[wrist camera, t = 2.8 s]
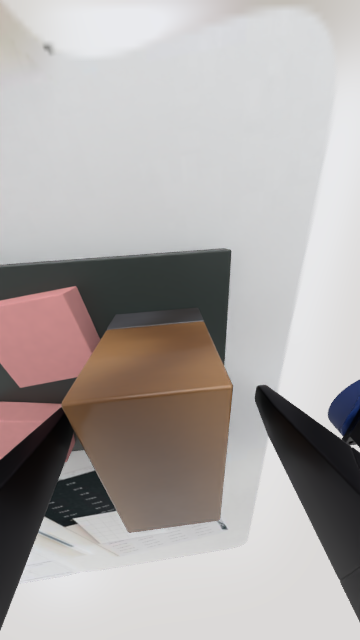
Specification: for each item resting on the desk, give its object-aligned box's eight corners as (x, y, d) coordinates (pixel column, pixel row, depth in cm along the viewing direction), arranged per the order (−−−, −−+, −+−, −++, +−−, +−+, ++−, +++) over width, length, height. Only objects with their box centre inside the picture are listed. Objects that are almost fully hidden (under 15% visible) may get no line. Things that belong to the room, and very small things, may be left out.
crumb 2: (69, 403, 11) (58, 422, 10) (75, 442, 12) (67, 462, 11) (-5, 400, 10) (-25, 420, 9) (12, 441, 12) (-3, 462, 11)
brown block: (197, 306, 9) (234, 386, 4) (200, 414, 12) (220, 521, 8) (115, 314, 8) (57, 405, 4) (141, 421, 12) (127, 533, 7)
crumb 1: (76, 285, 8) (62, 293, 7) (108, 357, 9) (101, 373, 8) (-13, 302, 8) (-41, 313, 7) (36, 370, 9) (19, 388, 8)
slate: (224, 248, 8) (231, 249, 7) (216, 421, 14) (220, 434, 13) (-155, 276, 8) (-197, 281, 7) (-2, 446, 13) (-14, 461, 12)
